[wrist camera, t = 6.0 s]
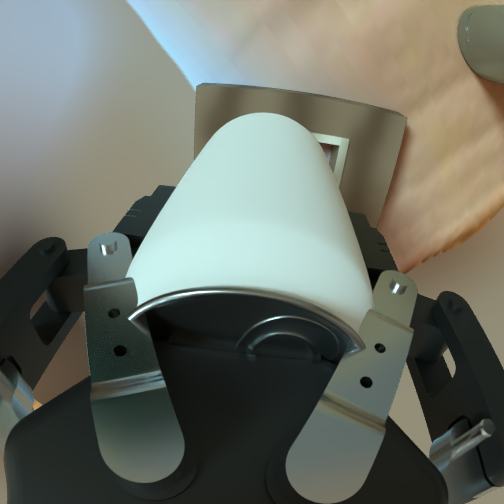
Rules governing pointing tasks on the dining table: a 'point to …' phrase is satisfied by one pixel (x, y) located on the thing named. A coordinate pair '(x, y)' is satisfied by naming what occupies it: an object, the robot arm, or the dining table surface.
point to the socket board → (318, 134)
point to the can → (256, 248)
